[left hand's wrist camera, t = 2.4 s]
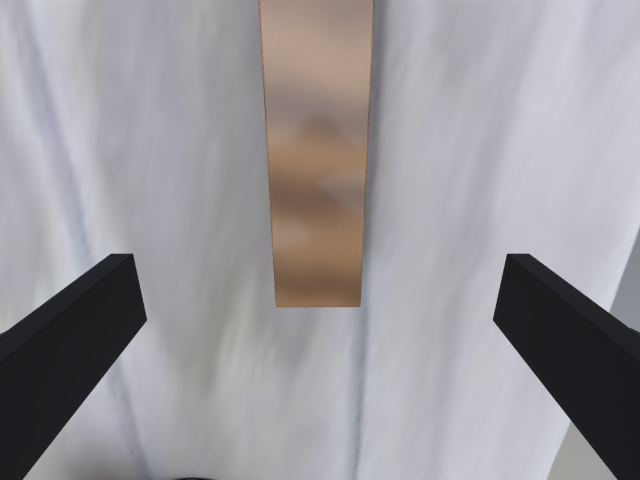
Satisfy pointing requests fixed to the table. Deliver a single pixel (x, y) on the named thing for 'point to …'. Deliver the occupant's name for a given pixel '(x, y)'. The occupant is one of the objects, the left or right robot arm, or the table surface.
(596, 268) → the table surface
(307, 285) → the beam
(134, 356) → the table surface
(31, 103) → the table surface
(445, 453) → the table surface
